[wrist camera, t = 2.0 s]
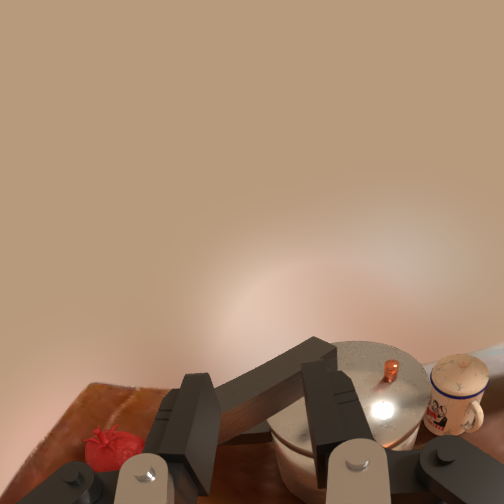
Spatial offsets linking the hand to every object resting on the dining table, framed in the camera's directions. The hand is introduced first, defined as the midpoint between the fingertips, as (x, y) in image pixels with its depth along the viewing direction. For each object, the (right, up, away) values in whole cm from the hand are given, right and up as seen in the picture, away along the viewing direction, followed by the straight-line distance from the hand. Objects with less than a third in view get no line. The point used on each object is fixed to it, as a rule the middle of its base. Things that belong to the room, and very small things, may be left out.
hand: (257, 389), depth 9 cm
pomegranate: (-19, -29, +25) cm, 42 cm away
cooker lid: (+7, -12, +19) cm, 23 cm away
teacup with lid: (+29, -21, +22) cm, 42 cm away
